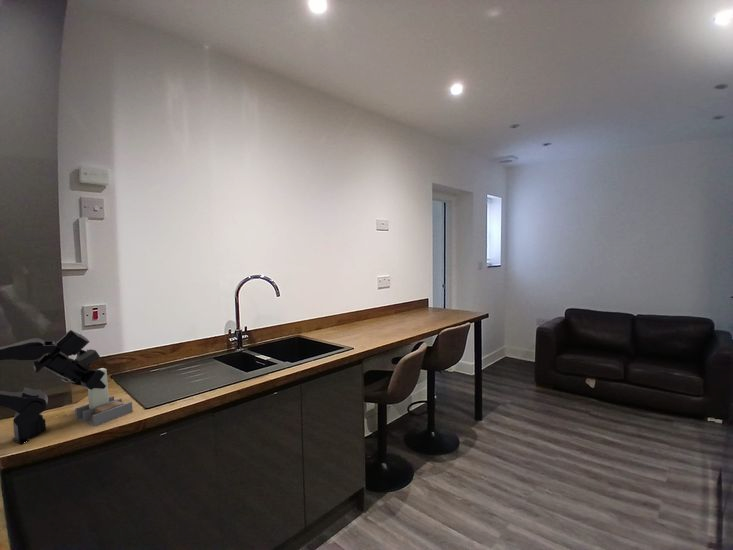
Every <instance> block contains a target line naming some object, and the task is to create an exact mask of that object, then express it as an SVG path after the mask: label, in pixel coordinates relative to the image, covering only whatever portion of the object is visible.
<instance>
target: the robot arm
mask: <svg viewBox="0 0 733 550" xmlns="http://www.w3.org/2000/svg"><path fill="white" fill-rule="evenodd" d="M90 342H91V341H90V340H89V339H88V338H86V337H85V336H83V335H82V334H79V333H78V332H76V331H74V330H72V329H70V330H69V331H67V332H66V334H65V335H64V336H62V337H61V338H60V339H59V340H55V341H54V340H43V339H41V338H38V337H35V338H34V337H33V338H29V339H26V340H22V341H19V342H15V343H11V344H8V345H3V346H0V361H4V360H5V361H6V360H7V361H8V360H11V361H32V364H33V369H34V372H35V373H39V372H40V371H41V370H43V368H44V369H46V370H48V371H50V372H52V373H53V374H55V375H56V376H58V377H59V379H60V380H61V381H63V382H66V383H67V384H68V383H70V382H71V384H73V385H75V386H81V387H82V388H85V389H87V390H88V389H90V390H92V389H93V388H98V389H104V388H105V387H106V385H105V384H104V383H103V382H102V381H101V378H102V377H103V376H104V374H105V372H103V371H101V370H98V369H99V368H93V369H90V368H91V366H90V365H92V364H94V363H95V362H96V361H98V360H100V359H101V357H102V356H100V354H99V353H98V351H97V350H95V349H86V350H84V348H85V347H86V346H87V345H88V344H89V343H90ZM71 356H76V358H75V359H73V358H71ZM36 360H37V361H36ZM48 401H49V398H48V395H47V394H46V392H45V391H44V392H43V391H41V389H33V388H30V387H24V388H23V391H17V392H12V391H7V390H0V408H1V407H2V408H7V409H9V410H11V411H13V412H15V414H14V417H13V419H12V420H13V421H12V422H13V433H14V435H13V437H12V439H11V440H12V441H14V440H15V441H14V442H16V441H17V442H16V443H18V442H19V443H23V444H25V443H24V442H26V441H29V442H30V440H31V439H33V438H36V437H38V436H39V435H41V434H44V433H45V432H46V431H47V428H46V427H47V426H46V425H47V424H46V419H45V418H44V415H42V413H43V412H44V411H45V410H46V409H47V405H48ZM19 443H18V444H19ZM26 443H27V442H26Z"/></svg>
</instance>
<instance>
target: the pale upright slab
mask: <svg viewBox="0 0 733 550" xmlns="http://www.w3.org/2000/svg"><path fill="white" fill-rule="evenodd" d="M97 369H98V370H101V371H103V372H105V374H104V376H103V377H102V378H101V381H102V382H103V383H104V384H105V385H106V387H105V388H104V389H98V388H93V389H92V390H90V389H87V398H88V404H89V408H90V409H91V408H94V407H97V406H100V405H103V404H105V403H108V402H109V397H110V396H109V384H108V372H107V371H108V370H107V368H104V367H101V368H97Z"/></svg>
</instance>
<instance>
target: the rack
mask: <svg viewBox="0 0 733 550" xmlns="http://www.w3.org/2000/svg"><path fill="white" fill-rule="evenodd" d="M115 401H118V402H122V403H123V399H122V398H117V399H115V396H114V395H112V396H109V402H108V403H105V404H103V405H100V406H97V407H94V408H91V409H90V408H89V403H88V404H86V405H81V406H78V407H76V408H75V409H74V413H75V419H76V420H78V421H81V422H84V424H88V425H91V426H94V427H97V426H100V425H102V424H105V423H107V422H110V421H112V420H115V419H118V418H121V417H123V416H125V415H128V414H130V413H133V412H134V411H133V401H128V402H126V403H124V404H122V405H120V406H117V407H114V408H112V409H109V410H106V411H103V412H101V413H98V414H95V408H98V407H101V406H104V405H106V404H109V403H112V402H115ZM93 414H95V415H93ZM90 415H93V421H91V418H90Z"/></svg>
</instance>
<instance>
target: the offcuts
mask: <svg viewBox="0 0 733 550" xmlns="http://www.w3.org/2000/svg"><path fill="white" fill-rule="evenodd" d="M122 404H125V403H124V402H123V401H122V402H118V401H115V402H112V403H109V404H106V405H104V406H101V407H98V408H95V414H98V413H101V412H103V411H106V410H109V409H112V408H114V407H117V406H120V405H122ZM95 414H93V415H95ZM93 415H90V418H91V421H93Z"/></svg>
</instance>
